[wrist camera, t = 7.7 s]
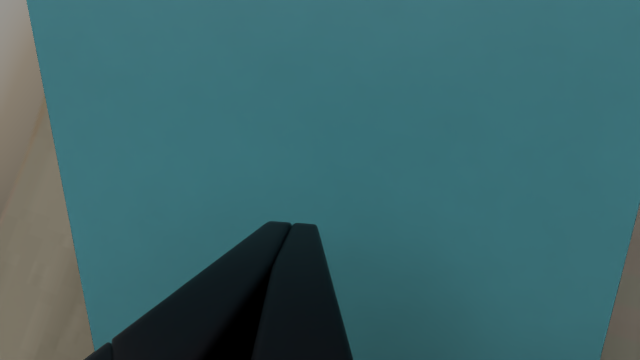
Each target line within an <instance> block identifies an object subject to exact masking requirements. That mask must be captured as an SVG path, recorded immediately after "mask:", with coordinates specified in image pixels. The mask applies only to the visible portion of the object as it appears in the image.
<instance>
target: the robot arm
mask: <svg viewBox="0 0 640 360" xmlns="http://www.w3.org/2000/svg"><path fill="white" fill-rule="evenodd" d="M84 360H353V356H352V353H351V349H350V345H349V341H348V338H347V334H346V330H345V327H344V323H343V319H342V316H341V312H340V308H339V304H338V301H337V297H336V293H335V290H334V286H333V282H332V279H331V275H330V271H329V268H328V264H327V260H326V256H325V253H324V249H323V245H322V242H321V238H320V234H319V231H318V227H317V226H316V225H315V224H306V223H295V224H293V225H292V224H291V223H289V222H279V221H269V222H267V223H265V224H264V225H263V226H261V227H260V228H259V229H257V230H256V231H255V232H253V233H252V234H251V235H249V236H248V237H247V238H245V239H244V240H243V241H241V242H240V243H239V244H237V245H236V246H235V247H233V248H232V249H231V250H229V251H228V252H227V253H225V254H224V255H223V256H221V257H220V258H219V259H217V260H216V261H215V262H213V263H212V264H211V265H209V266H208V267H207V268H205V269H204V270H203V271H201V272H200V273H199V274H197V275H196V276H195V277H193V278H192V279H191V280H189V281H188V282H187V283H185V284H184V285H183V286H181V287H180V288H179V289H177V290H176V291H175V292H173V293H172V294H171V295H170V296H168V297H167V298H166V299H164V300H163V301H162V302H160V303H159V304H158V305H156V306H155V307H154V308H152V309H151V310H150V311H148V312H147V313H146V314H144V315H143V316H142V317H140V318H139V319H138V320H136V321H135V322H134V323H132V324H131V325H130V326H128V327H127V328H126V329H124V330H123V331H122V332H120V333H119V334H118V335H116V336H115V337H114V338H113V339H112V344H111V343H110V342H107V343H105V344H104V345H103V346H101V347H100V348H99V349H97V350H96V351H95V352H93V353H92V354H91V355H89V356H88V357H87V358H85V359H84Z"/></svg>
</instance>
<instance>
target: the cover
mask: <svg viewBox="0 0 640 360" xmlns="http://www.w3.org/2000/svg"><path fill="white" fill-rule="evenodd" d="M27 5H28V10H29V16H30V21H31V26H32V31H33V36H34V41H35V46H36V52H37V56H38V62H39V67H40V72H41V77H42V82H43V88H44V93H45V98H46V103H47V108H48V113H49V118H50V124H51V129H52V134H53V139H54V144H55V149H56V155H57V160H58V165H59V170H60V175H61V180H62V185H63V191H64V196H65V201H66V206H67V211H68V216H69V221H70V227H71V232H72V237H73V242H74V247H75V252H76V257H77V263H78V268H79V273H80V278H81V283H82V288H83V293H84V299H85V304H86V309H87V314H88V319H89V324H90V330H91V335H92V340H93V345H94V350H95V351H96V350H97V349H99V348H100V347H101V346H103V345H104V344H105V343H107V342H110V343H111V344H112V339H113V338H114V337H115V336H116V335H118V334H119V333H120V332H122V331H123V330H124V329H126V328H127V327H128V326H130V325H131V324H132V323H134V322H135V321H136V320H138V319H139V318H140V317H142V316H143V315H144V314H146V313H147V312H148V311H150V310H151V309H152V308H154V307H155V306H156V305H158V304H159V303H160V302H162V301H163V300H164V299H166V298H167V297H168V296H170V295H171V294H172V293H173V292H175V291H176V290H177V289H179V288H180V287H181V286H183V285H184V284H185V283H187V282H188V281H189V280H191V279H192V278H193V277H195V276H196V275H197V274H199V273H200V272H201V271H203V270H204V269H205V268H207V267H208V266H209V265H211V264H212V263H213V262H215V261H216V260H217V259H219V258H220V257H221V256H223V255H224V254H225V253H227V252H228V251H229V250H231V249H232V248H233V247H235V246H236V245H237V244H239V243H240V242H241V241H243V240H244V239H245V238H247V237H248V236H249V235H251V234H252V233H253V232H255V231H256V230H257V229H259V228H260V227H261V226H263V225H264V224H265V223H267V222H269V221H279V222H289V223H291V224H292V225H293V224H295V223H306V224H315V225H316V226H317V227H318V231H319V234H320V238H321V242H322V245H323V249H324V253H325V256H326V260H327V264H328V268H329V271H330V275H331V279H332V282H333V286H334V290H335V293H336V297H337V301H338V304H339V308H340V312H341V316H342V319H343V323H344V327H345V330H346V334H347V338H348V341H349V345H350V349H351V353H352V356H353V360H600V357H601V353H602V349H603V345H604V341H605V338H606V334H607V330H608V326H609V322H610V318H611V314H612V310H613V306H614V302H615V298H616V294H617V291H618V287H619V283H620V279H621V275H622V271H623V267H624V263H625V259H626V255H627V251H628V248H629V244H630V240H631V236H632V232H633V228H634V224H635V220H636V216H637V212H638V208H639V204H640V0H27Z"/></svg>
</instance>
